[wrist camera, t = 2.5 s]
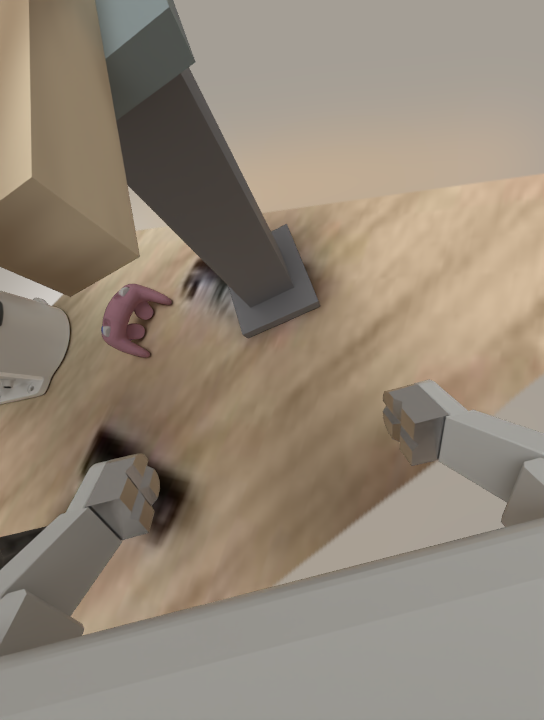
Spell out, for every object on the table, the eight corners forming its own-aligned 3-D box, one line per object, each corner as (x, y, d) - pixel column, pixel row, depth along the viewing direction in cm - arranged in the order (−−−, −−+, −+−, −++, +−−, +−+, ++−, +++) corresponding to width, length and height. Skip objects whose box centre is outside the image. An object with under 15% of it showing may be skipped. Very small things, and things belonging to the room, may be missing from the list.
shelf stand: (247, 338, 35) (-11, 153, 11) (225, 264, 39) (-2, 8, 15) (320, 306, 33) (194, -14, 9) (289, 231, 37) (142, -135, 13)
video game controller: (164, 299, 43) (118, 276, 39) (175, 298, 40) (126, 273, 35) (140, 356, 42) (90, 340, 38) (149, 361, 39) (95, 343, 34)
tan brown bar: (70, 296, 7) (-56, 242, 5) (46, -50, 14) (-12, -136, 12) (139, 256, 7) (31, 177, 5) (80, -83, 14) (25, -180, 12)
